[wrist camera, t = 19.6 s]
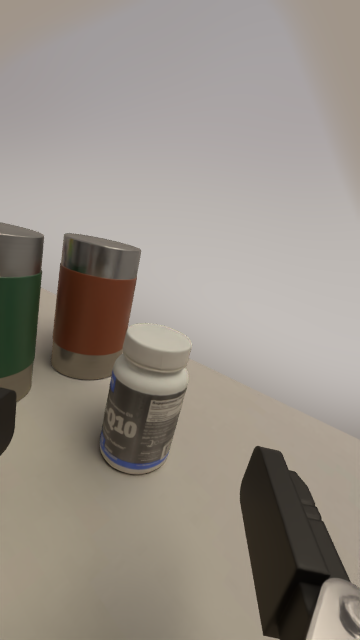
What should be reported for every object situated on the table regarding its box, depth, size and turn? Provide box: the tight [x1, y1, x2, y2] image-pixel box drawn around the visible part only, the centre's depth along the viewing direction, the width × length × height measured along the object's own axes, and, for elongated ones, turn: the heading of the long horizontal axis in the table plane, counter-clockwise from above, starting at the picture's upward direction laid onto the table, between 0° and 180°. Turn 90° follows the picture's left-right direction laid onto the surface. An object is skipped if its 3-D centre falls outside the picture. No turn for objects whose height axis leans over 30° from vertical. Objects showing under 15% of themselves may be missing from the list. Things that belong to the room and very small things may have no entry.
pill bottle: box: [100, 323, 192, 474], centre depth 18 cm, size 5×5×8 cm
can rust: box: [51, 233, 141, 380], centre depth 27 cm, size 7×7×12 cm
